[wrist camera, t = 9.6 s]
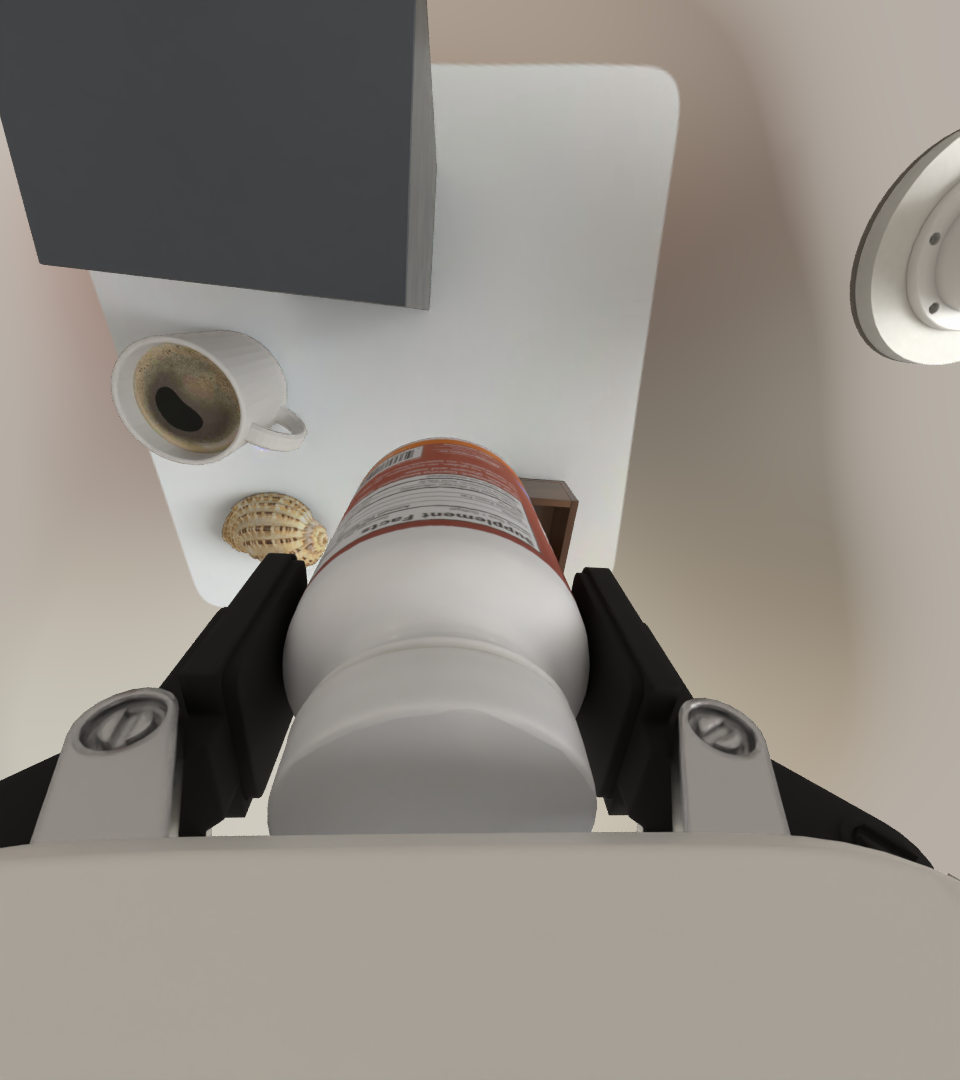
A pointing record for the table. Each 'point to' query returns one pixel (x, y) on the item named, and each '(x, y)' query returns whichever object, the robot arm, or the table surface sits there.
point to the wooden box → (554, 513)
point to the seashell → (274, 528)
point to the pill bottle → (436, 662)
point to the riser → (227, 141)
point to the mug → (203, 396)
